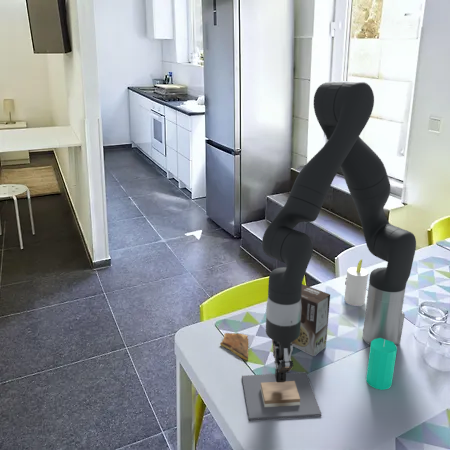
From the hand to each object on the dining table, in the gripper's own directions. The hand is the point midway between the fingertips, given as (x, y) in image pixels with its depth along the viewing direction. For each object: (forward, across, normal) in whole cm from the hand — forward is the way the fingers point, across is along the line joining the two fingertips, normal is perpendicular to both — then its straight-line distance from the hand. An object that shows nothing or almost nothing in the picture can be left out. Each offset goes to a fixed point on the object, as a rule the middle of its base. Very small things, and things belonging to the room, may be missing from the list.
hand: (280, 380), depth 107 cm
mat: (+4, 0, 0) cm, 4 cm away
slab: (+3, +2, 0) cm, 4 cm away
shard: (+5, +20, +7) cm, 22 cm away
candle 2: (+5, +3, -25) cm, 26 cm away
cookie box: (+5, +19, -11) cm, 22 cm away
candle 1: (+5, +41, -32) cm, 52 cm away
